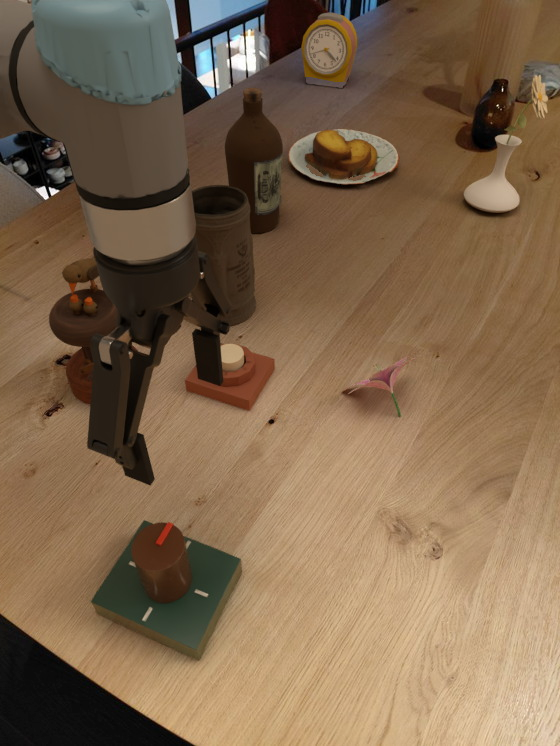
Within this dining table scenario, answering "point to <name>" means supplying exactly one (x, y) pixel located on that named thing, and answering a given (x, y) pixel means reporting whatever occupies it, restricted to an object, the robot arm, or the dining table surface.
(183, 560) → the knob
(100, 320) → the music box
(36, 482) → the dining table surface
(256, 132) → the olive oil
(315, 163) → the food on plate
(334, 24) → the alarm clock
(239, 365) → the button
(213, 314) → the robot arm
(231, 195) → the beer stein
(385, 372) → the lily
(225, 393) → the button block
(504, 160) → the flower in vase
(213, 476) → the dining table surface
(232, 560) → the panel
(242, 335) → the dining table surface
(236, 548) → the dining table surface
